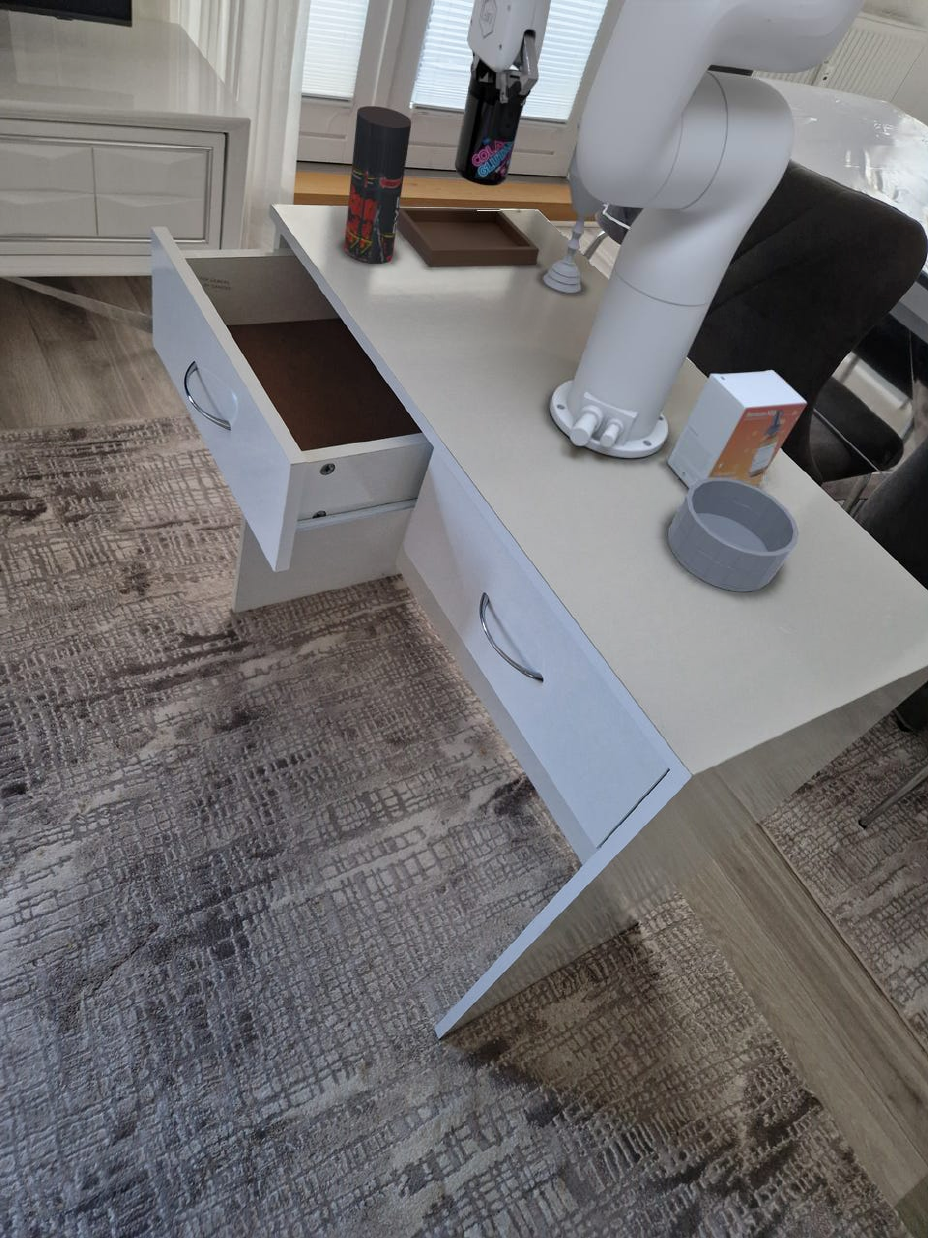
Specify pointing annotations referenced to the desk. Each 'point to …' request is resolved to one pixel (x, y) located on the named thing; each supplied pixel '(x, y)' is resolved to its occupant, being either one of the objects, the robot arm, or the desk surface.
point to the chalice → (573, 233)
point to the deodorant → (376, 183)
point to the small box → (736, 427)
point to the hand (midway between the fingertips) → (488, 125)
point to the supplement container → (482, 133)
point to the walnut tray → (465, 237)
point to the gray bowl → (732, 534)
